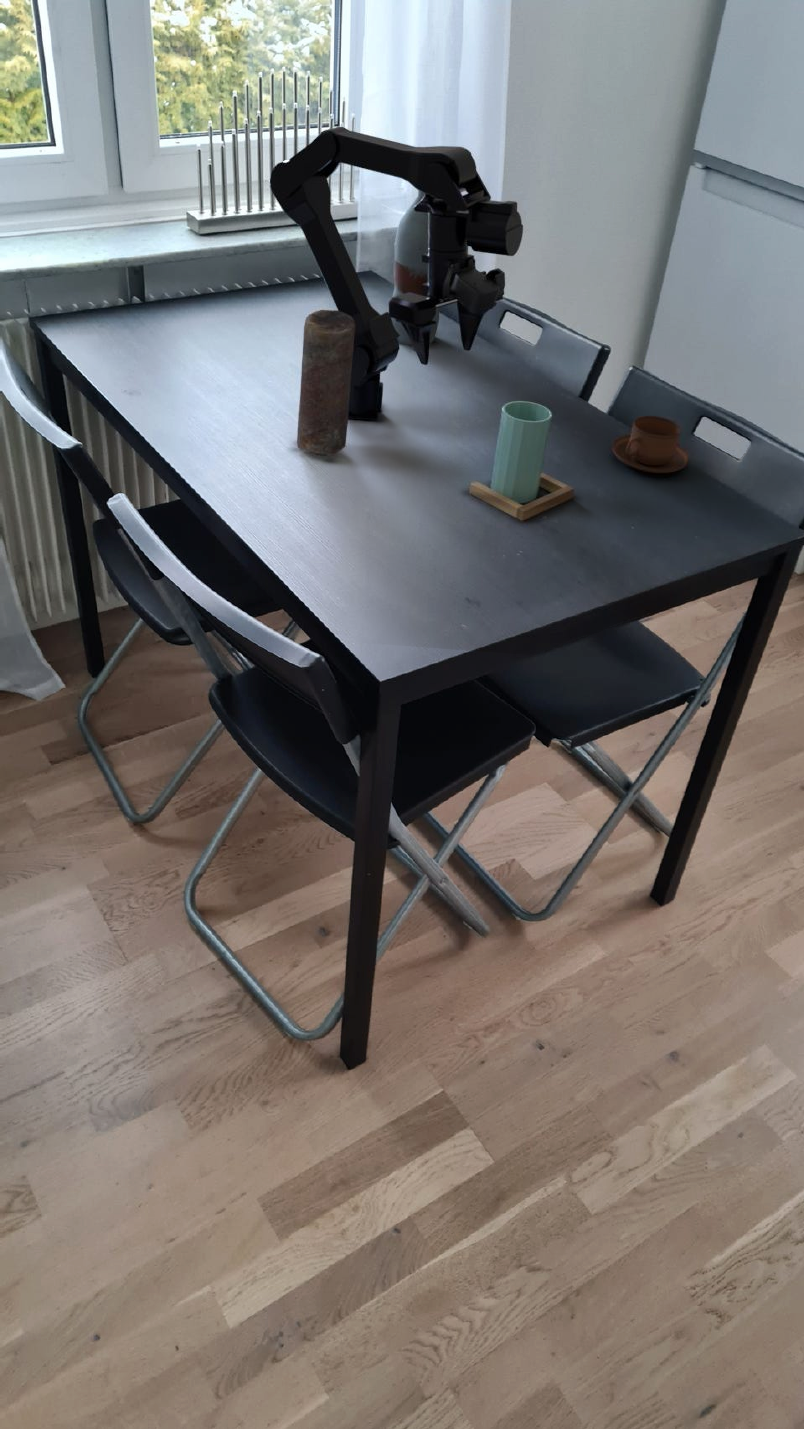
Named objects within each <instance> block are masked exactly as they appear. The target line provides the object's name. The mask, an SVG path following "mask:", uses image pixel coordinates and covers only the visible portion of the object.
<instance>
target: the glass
mask: <svg viewBox="0 0 804 1429" xmlns="http://www.w3.org/2000/svg"><path fill="white" fill-rule="evenodd" d="M552 419H553V413H552V411H551V410H550V409H549V408H548V407H546V406H544V405H543V404H540V403H536V402H532V401H525V400H517V401H515V400H514V401H510V402H506V403H505V404H504V405H503V406H502V408H501V414H500V421H499V427H498V433H497V440H496V446H495V447H496V448H495V453H494V460H493V466H492V474H491V480H490V487H489V488H490V489H492V490H494V491H496V492H498V493H500V494H502V495H503V496H505V497H507V498H509V499H511V500H513V501H515V502H517V503H519V504H528V503H530V502H532V501H534V500H536V499H537V496H538V492H539V489H540V486H539V485H540V479H541V474H542V473H543V468H544V464H545V463H544V462H545V456H546V452H547V446H548V441H549V434H550V430H551V426H552V424H551V423H552Z"/></svg>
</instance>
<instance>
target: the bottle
mask: <svg viewBox="0 0 804 1429" xmlns="http://www.w3.org/2000/svg"><path fill="white" fill-rule="evenodd" d="M424 195H425V193H423V192H421V191H419V190H417V196H416V198H415V199H414V201H413V202H412V204H410V206H409V207H408V209H407V210H406V212H405V213H404V214H403V216H402V218H400V220H399V223H398V226H397V228H396V234H395V239H394V288H393V292H392V297H391V299H392V298H393V297H394V296H398V295H402V294H405V293H409V292H411V293H415V294H418V295H422V296H425V297H426V296H428V293H426V292H422V284H424V283H428V263H425V262H422V254H425V253H428V213H423V212H416V211H415V210H414V207H415V206H416V205H417V204H418V203H419V202H420V201H421V200H422V199H423V197H424ZM391 319H392V323H393V326H394V328H395V330H396V331H397V332H398V333H399V335H400V336H399V337H398V338H397V339H398V342H399V344H402V345H406V346H412V347H413V345H412V343H411V341H410V338H409V336H408V335H407V333H406V331H405V329H404V328H403V326H402V324H401V323H400V322H397V321H395V319H394V318H391ZM433 321H436V322H437V323H436V324H435V325H434V327H433V328H432V329H431V331H430V344H432V343H433V341H434V340H435V337H436V334H437V330H438V326H439V322H440V307H439V308H436V315H435V316H434V318H433Z"/></svg>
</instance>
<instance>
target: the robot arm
mask: <svg viewBox="0 0 804 1429" xmlns="http://www.w3.org/2000/svg"><path fill="white" fill-rule="evenodd" d="M341 164H344V165H348V166H352V167H355V168H360V169H363V170H367V171H372V172H375V173H379V174H383V175H387V176H392V177H394V178H398V179H402V180H403V181H406V182H408V183H409V184H410V185H411V186H412V187H413V188H415V189H416V190H417V191H418V190H419V191H421V192H423V193H425V195H424V197H423V199H422V200H421V201H420V202H419V203H418V204H417V205H416V206H415V207H414V210H415V211H416V212H423V213H428V253H425V254H422V262H425V263H428V283H424V284H422V292H426V293H428V296H426V297H425V296H422V295H418V294H415V293H411V292H409V293H405V294H402V295H398V296H394V297H393V298H392V297H391V298H390V300H389V301H388V311H386V312H383V313H382V314H381V313H379V312H378V311H377V310H376V309H375V308H373V307H372V305H371V302H370V301H369V299H368V296H367V294H366V292H365V289H364V287H363V285H362V283H361V280H360V278H359V275H358V273H357V271H356V268H355V267H354V264H353V261H352V260H351V257H350V254H349V253H348V250H347V248H346V245H345V243H344V241H343V238H342V236H341V234H340V232H339V229H338V227H337V225H336V222H335V220H334V218H333V216H332V212H331V210H332V209H331V208H332V207H331V206H332V205H331V204H332V202H331V201H332V198H331V197H332V196H331V194H332V193H331V188H330V184H329V180H328V179H329V178H330V177H331V176H332V175H333V174H334V173H335V172H336V171H337V169H338V168H339V166H340V165H341ZM268 182H269V188H270V191H271V193H272V195H273V197H274V198H275V199H276V201H277V203H278V205H279V206H280V208H281V210H282V211H283V212H284V214H285V215H286V216H287V217H288V218H289V219H291V220H292V221H293V222H294V223H295V224H296V225H297V226H298V227H299V228H300V229H301V231H302V233H303V235H304V237H305V240H306V242H307V244H308V246H309V249H310V251H311V254H312V255H313V258H314V260H315V262H316V264H317V267H318V269H319V271H320V273H321V276H322V278H323V280H324V282H325V285H326V287H327V289H328V291H329V293H330V296H331V298H332V300H333V303H334V304H335V307H336V310H337V311H340V312H343V313H345V314H347V315H349V316H351V317H352V318H353V319H354V322H355V334H354V346H353V358H352V369H351V382H350V397H349V410H348V419H354V420H365V421H378V420H379V414H381V413H382V408H383V396H384V395H383V394H384V383H383V381H381V373H382V372H385V371H387V369H388V367H389V365H390V364H391V363H393V362H395V360H396V358H397V357H398V354H399V351H400V343H399V342H398V339H397V338H398V337H399V336H400V335H399V333H398V332H397V331H396V330H395V328H394V326H393V323H392V319H391V318H394V319H395V321H397V322H400V323H401V324H402V326H403V328H404V329H405V331H406V333H407V335H408V336H409V338H410V341H411V343H412V345H413V346H412V345H411V346H412V347H413V350H414V352H415V354H416V356H417V358H418V360H419V362H420V364H421V365H423V366H427V365H428V364H429V358H430V344H431V343H430V331H431V329H432V328H433V327H434V325H435V324H436V323H437V322H436V321H433V318H434V316H435V315H436V308H439V309H440V308H443V307H446V306H449V305H452V304H456V307H457V314H458V315H457V316H458V322H459V323H458V324H459V331H460V339H461V344H462V348H463V350H464V351H467V352H469V351H471V349H472V347H473V344H474V342H475V338H476V335H477V333H478V330H479V327H480V326H481V325H480V324H481V322H482V320H483V317H484V316H485V315H486V313H487V312H489V311H490V310H492V309H494V307H496V306H497V305H498V302H499V301H502V300H503V299H504V295H505V287H506V273H505V272H504V270H502V269H500V268H499V267H498V268H497V267H496V268H493V269H490V270H489V271H488V272H487V271H486V270H483V271H479V270H478V269H477V267H476V259H475V255H474V254H470V253H469V247H470V248H471V250H472V251H474V252H476V253H484V254H491V255H501V256H506V257H507V256H508V257H514V256H515V255H516V254H517V253H518V251H519V249H520V246H521V243H522V239H523V236H524V235H523V234H524V225H523V224H522V223H523V222H522V216H521V214H520V213H519V211H518V202H517V201H514V200H505V201H499V200H491V199H492V196H491V194H490V192H489V190H488V189H487V187H486V185H485V183H484V181H483V180H482V178H481V176H480V174H479V172H478V170H477V164H476V161H475V159H474V157H473V155H472V151H470V150H468V148H466V147H464V146H453V145H452V146H451V145H450V146H449V145H448V146H447V145H437V146H436V145H434V146H415V145H410V144H407V143H402V142H398V141H393V140H389V139H386V138H381V137H379V136H373V135H371V134H370V135H369V134H366V133H361V132H357V131H353V130H349V129H348V128H346V127H344V126H335V127H332V128H328V129H325V130H322V131H320V133H319V134H318V135H317V136H316V137H315V138H314V139H313V140H312V141H311V142H310V143H308V144H307V145H306V146H305V147H304V148H302V149H301V150H300V151H298V152H296V153H295V154H293V155H292V157H290V158H289V159H288V160H287V159H286V160H284V161H280V162H278V163H277V164H275V166H274V167H273V168H272V171H271V173H270V179H269V180H268ZM463 192H466V194H464V195H463V194H462V193H463Z"/></svg>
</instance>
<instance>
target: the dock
mask: <svg viewBox="0 0 804 1429" xmlns="http://www.w3.org/2000/svg"><path fill="white" fill-rule="evenodd" d="M490 488H491V487H489V486H486V485H484V484H483V483H481V482H480V481H479V482H478V481H473V482H471V483H470V485H469V492H468V493H469V494H470V495H472V496H473V497H476V498H477V499H479V500H481V501H483V502H485V503H487V504H489V505H490V506H493V507H494V508H496V509H498V510H500V511H501V512H504V513H506V514H508V515H510V516H512V517H513V518H515V519H516V520H519V521H521V522H524V521H525V520H528V519H530V518H532V517H534V516H536V515H538V514H540V513H543V512H545V511H547V510H550V509H551V508H554V507H556V506H558V505H560V504H563V503H565V502H567V501H569V500H572V499H573V497H574V496H573V495H574V491H575V488H574V487H572V486H570V485H568V484H566V483H564V482H562V481H560V480H557V479H556V478H554V477H551V476H549V475H547V474H546V473H544V472H542V474H541V479H540V485H539V488H542V489H544V490H546V491H547V492H549V493H548V494H545V495H543V496H541V497H539V498H536V499H534V500H533V501H531V502H528V503H524V505H523V504H522V503H517V502H515V501H513V500H511V499H509V498H507V497H505V496H503V495H502V494H500V493H498V492H496V491H494V490H492V489H490Z"/></svg>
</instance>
